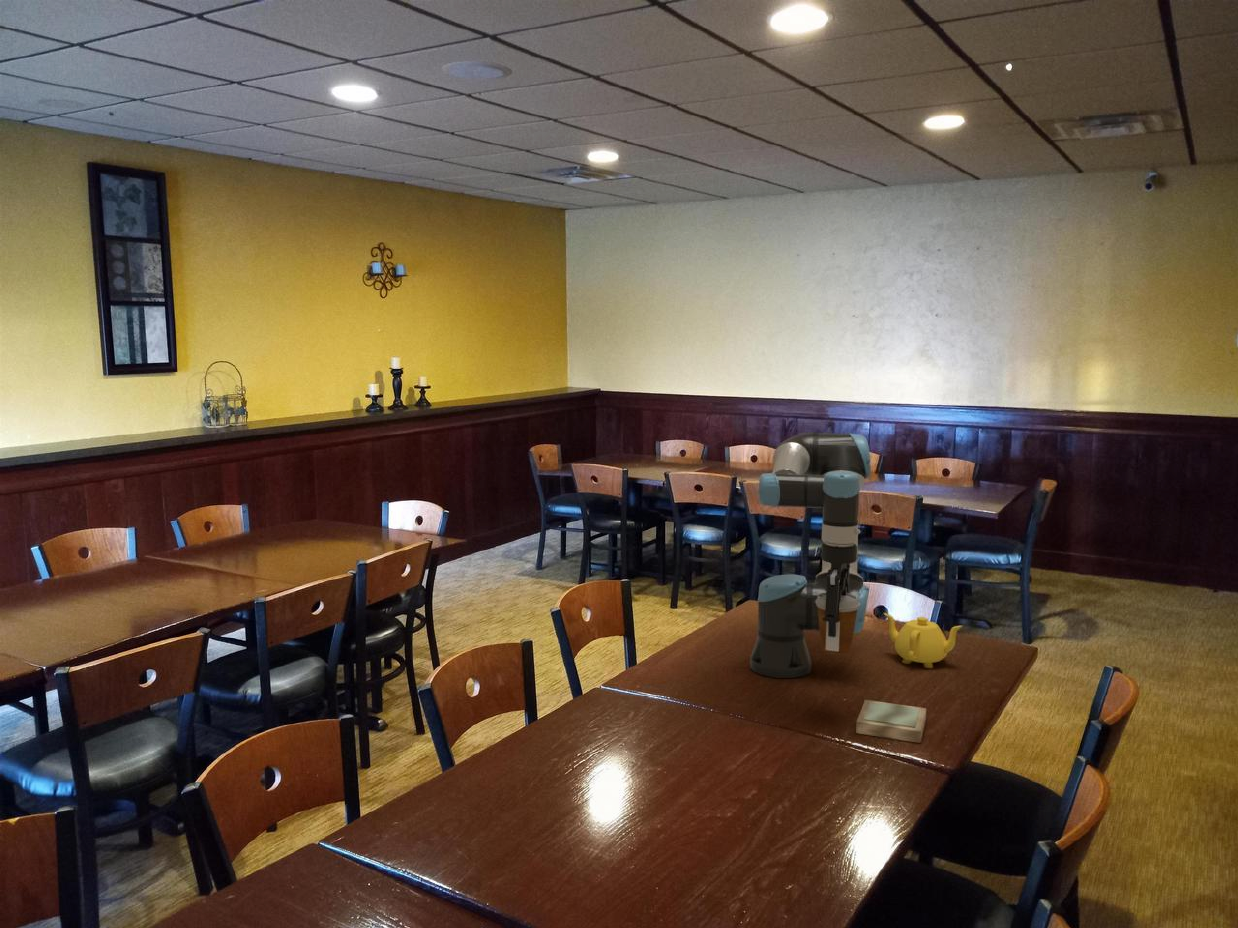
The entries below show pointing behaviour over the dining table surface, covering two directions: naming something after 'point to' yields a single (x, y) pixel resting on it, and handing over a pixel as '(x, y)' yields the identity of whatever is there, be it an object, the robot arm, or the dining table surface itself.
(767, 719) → the dining table surface
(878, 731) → the trivet
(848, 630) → the disposable coffee cup
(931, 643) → the teapot
